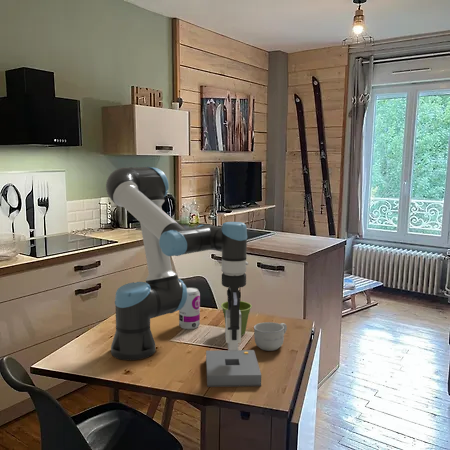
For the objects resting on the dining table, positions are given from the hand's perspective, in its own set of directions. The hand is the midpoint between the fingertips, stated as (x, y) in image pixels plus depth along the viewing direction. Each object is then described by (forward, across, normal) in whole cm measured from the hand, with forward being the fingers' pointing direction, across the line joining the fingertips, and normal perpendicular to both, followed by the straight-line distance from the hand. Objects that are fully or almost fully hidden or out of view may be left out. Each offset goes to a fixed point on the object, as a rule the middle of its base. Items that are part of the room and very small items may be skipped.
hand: (233, 345), depth 145 cm
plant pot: (+9, +33, -4) cm, 35 cm away
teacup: (+9, +20, -16) cm, 27 cm away
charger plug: (+1, 0, 0) cm, 1 cm away
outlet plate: (+9, 0, 0) cm, 9 cm away
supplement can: (+9, +41, +14) cm, 44 cm away
